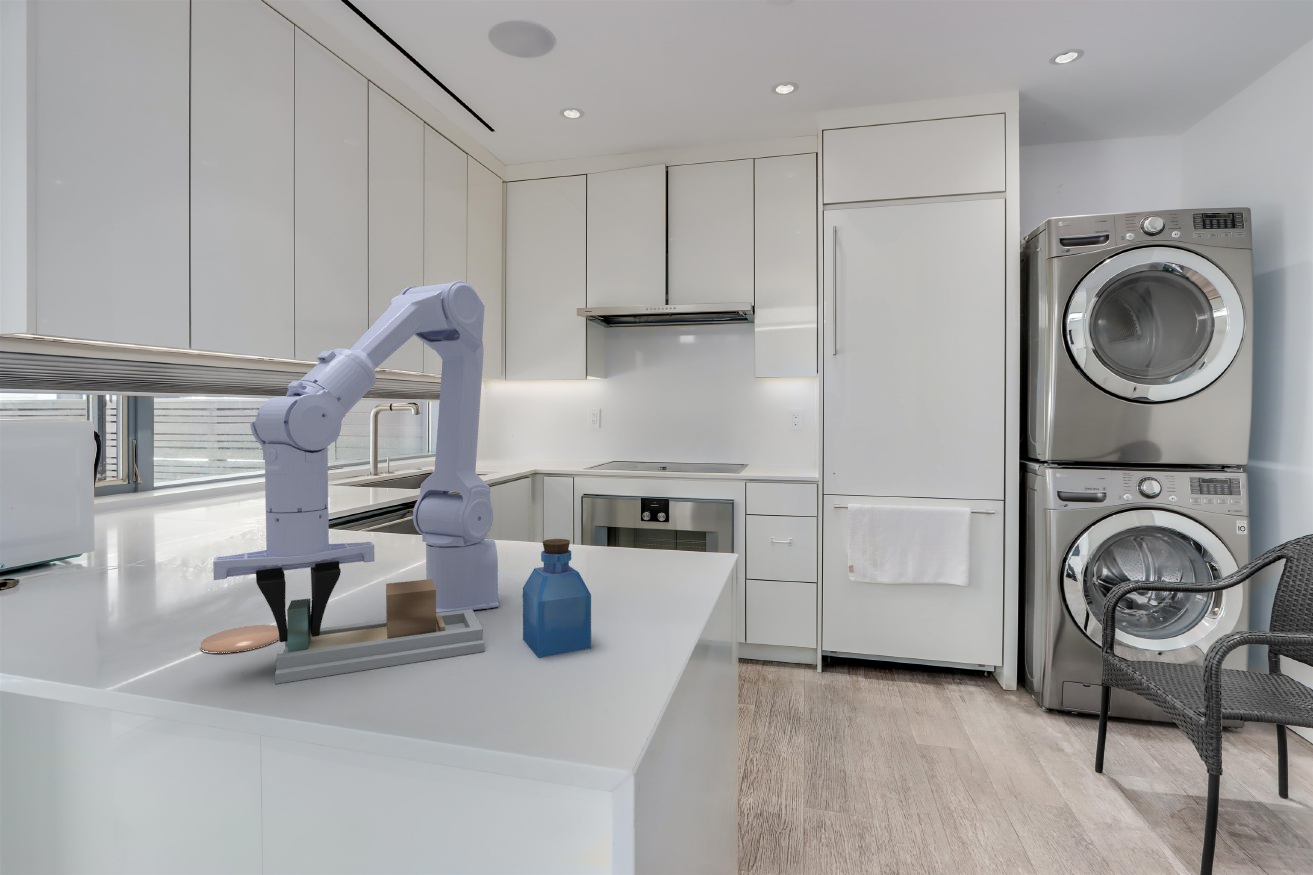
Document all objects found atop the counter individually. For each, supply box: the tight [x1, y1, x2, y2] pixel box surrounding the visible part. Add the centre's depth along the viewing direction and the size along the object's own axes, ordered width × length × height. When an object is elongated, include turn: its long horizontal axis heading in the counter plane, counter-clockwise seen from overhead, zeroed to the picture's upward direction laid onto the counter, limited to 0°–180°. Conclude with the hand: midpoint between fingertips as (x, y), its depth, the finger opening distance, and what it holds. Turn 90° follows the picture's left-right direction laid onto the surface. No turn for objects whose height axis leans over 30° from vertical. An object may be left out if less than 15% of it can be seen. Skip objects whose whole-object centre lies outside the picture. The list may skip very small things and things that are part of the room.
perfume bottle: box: [522, 538, 592, 659], centre depth 70 cm, size 6×6×12 cm
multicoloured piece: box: [286, 597, 445, 652], centre depth 67 cm, size 15×5×5 cm, turn 115°
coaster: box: [200, 624, 279, 653], centre depth 71 cm, size 8×8×1 cm
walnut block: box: [385, 579, 436, 639], centre depth 69 cm, size 5×5×5 cm
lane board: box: [274, 609, 485, 685], centre depth 68 cm, size 20×10×2 cm, turn 115°
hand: (299, 636), depth 65 cm, fingers closed on multicoloured piece, 2 cm apart
